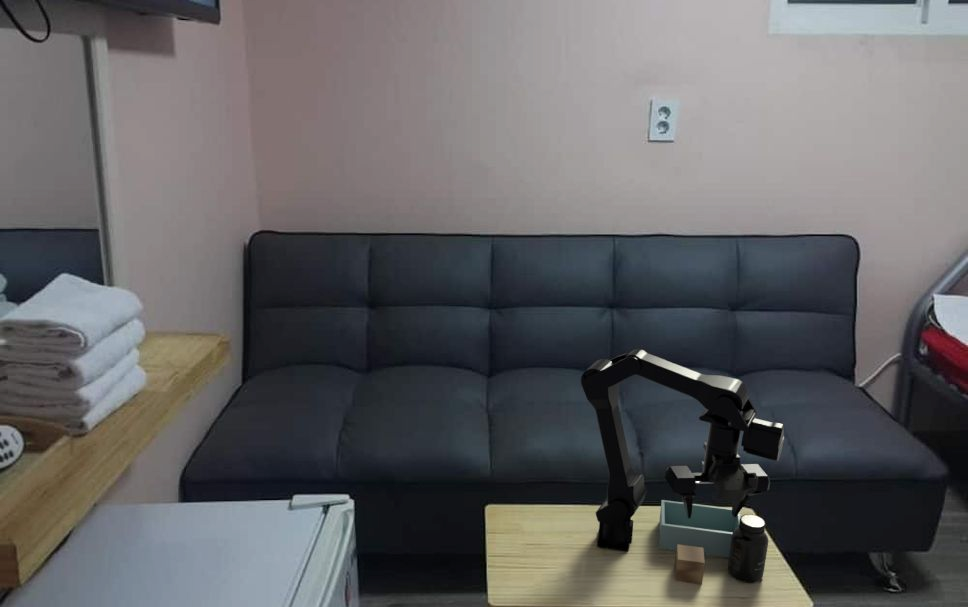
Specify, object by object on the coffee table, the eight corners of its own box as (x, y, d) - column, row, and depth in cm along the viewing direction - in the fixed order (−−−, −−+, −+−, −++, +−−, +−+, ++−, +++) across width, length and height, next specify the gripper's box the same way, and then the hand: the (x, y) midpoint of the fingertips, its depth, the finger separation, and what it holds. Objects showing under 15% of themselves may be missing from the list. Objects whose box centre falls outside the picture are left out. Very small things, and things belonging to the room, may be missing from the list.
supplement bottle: (765, 586, 157) (773, 533, 153) (728, 581, 158) (735, 528, 155) (760, 565, 164) (768, 513, 160) (725, 560, 165) (732, 508, 161)
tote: (659, 548, 168) (661, 524, 166) (659, 522, 177) (661, 499, 176) (740, 559, 165) (744, 535, 164) (736, 532, 174) (739, 509, 173)
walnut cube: (675, 581, 158) (677, 559, 157) (675, 565, 163) (677, 544, 162) (701, 584, 157) (704, 562, 156) (700, 569, 162) (703, 547, 161)
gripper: (689, 468, 144) (679, 543, 149) (789, 466, 146) (775, 540, 152) (669, 437, 155) (659, 509, 160) (762, 436, 157) (750, 506, 162)
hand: (711, 516), depth 158 cm, fingers open, 9 cm apart
